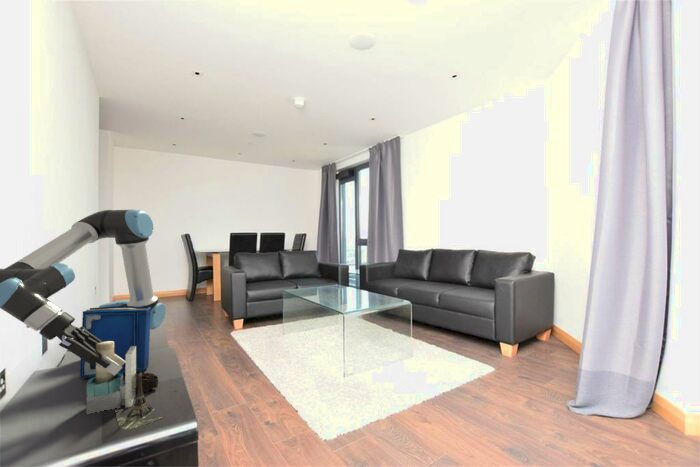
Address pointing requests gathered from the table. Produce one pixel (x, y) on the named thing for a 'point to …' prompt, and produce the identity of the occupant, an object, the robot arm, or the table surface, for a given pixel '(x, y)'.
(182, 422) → the table surface
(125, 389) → the bracket
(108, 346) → the beige wooden block
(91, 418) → the table surface
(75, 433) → the table surface
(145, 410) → the eiffel tower figurine
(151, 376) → the dark brown rounded block
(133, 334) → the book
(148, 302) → the robot arm
